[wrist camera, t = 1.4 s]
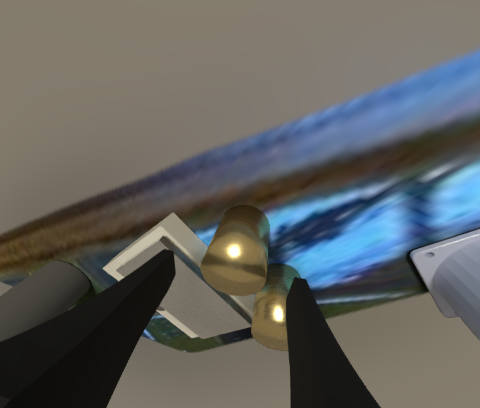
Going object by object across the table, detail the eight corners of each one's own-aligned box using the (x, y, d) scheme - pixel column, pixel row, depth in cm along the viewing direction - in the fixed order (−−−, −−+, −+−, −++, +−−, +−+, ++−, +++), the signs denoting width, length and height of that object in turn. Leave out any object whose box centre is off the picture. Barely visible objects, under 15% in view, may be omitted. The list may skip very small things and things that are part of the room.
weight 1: (249, 195, 14) (236, 237, 10) (279, 232, 15) (279, 284, 11) (212, 219, 16) (187, 264, 11) (241, 250, 17) (228, 302, 12)
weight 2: (285, 257, 16) (288, 313, 12) (308, 285, 17) (319, 346, 13) (249, 272, 18) (240, 326, 13) (273, 296, 19) (271, 354, 15)
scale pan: (163, 235, 14) (159, 240, 14) (252, 319, 17) (252, 326, 17) (120, 265, 17) (115, 270, 17) (204, 333, 20) (202, 339, 20)
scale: (173, 212, 16) (159, 226, 14) (261, 300, 19) (259, 321, 18) (117, 254, 20) (101, 269, 18) (198, 321, 24) (191, 339, 22)
